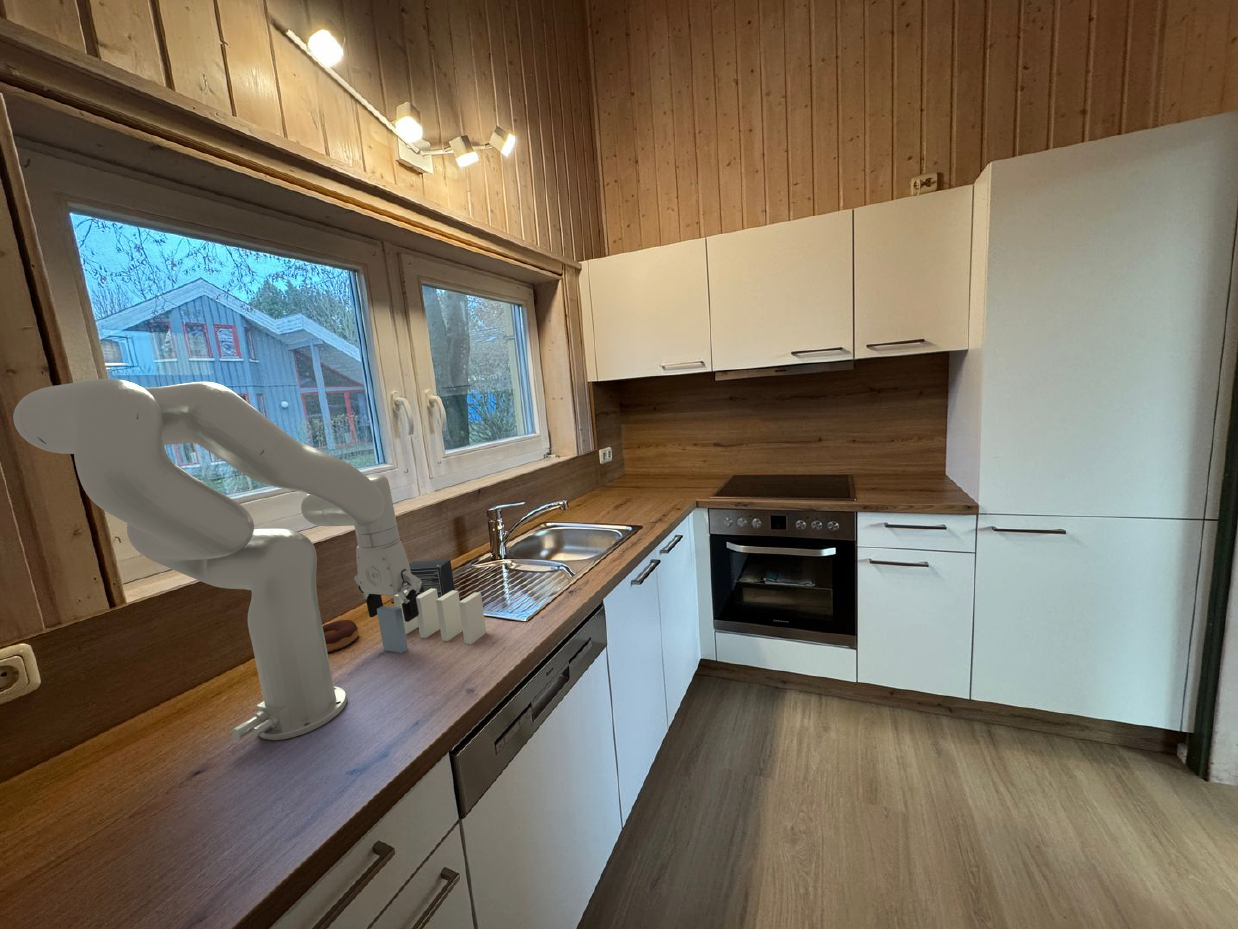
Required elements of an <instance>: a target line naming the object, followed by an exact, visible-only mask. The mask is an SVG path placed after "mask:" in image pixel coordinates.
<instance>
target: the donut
mask: <svg viewBox="0 0 1238 929" xmlns="http://www.w3.org/2000/svg"><path fill="white" fill-rule="evenodd" d="M322 626H323V632H324V637H325V642H326V648H327V653H331V652H334V650H335V651H337V650H340V649H343V648H345V647H347V646H348V645H351V643H353V642H354V641H355V640H356V639H357V637H358V636H359V628H358V626H357V624H356V623H355V622H354V621H353V620H351V619H343V620H342V619H339V620H337V621H336V620H335V621H333V622H330V623H325V624H324V625H322Z"/></svg>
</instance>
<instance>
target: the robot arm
mask: <svg viewBox="0 0 1238 929" xmlns="http://www.w3.org/2000/svg"><path fill="white" fill-rule="evenodd" d="M12 416H13V424H14V427H15V429H16V430H17V431H16V432H18V434H19V435H20V437H21V438H23V439H24V440H25V441H26V442H27V443H29V444H31V445H32V446H34V447H36V448H38V449H41V450H43V451H46V452H49V453H54V454H62V455H73V457H74V463H75V467H76V472H77V476H78V479H79V481H80V484H81V486H82V488H83V491H85V494H86V496H88V498H89V499H90V500H91V502H93V503H94V504H95V505H96V506H98V507H99V508H100V509H102V510H103V511H105V512H106V513H108V514H110V515H111V516H113V517H115V518H116V519H118V520H121V521H122V522H125V523H126V533H127V538H128V540H129V542H130V545H132V546H133V548H134V549H135V550H136V551H137V552H138V554H141V555H142V556H143V557H145V558H147V559H149V560H151V561H152V562H155V563H157V564H159V565H161V566H163V567H166V568H169V569H171V570H173V571H175V572H178V573H181V574H182V575H185V576H188V577H189V578H191V579H194V580H197V581H199V582H201V583H205V584H207V585H210V586H212V587H216V588H220V589H230V590H232V589H233V590H247V591H251V600H250V602H249V607H248V611H247V627H248V632H249V638H250V641H251V645H252V650H253V655H254V659H255V660H254V661H255V665H256V669H257V674H258V675H257V676H258V679H259V684H260V689H261V693H262V697H263V698H262V699H263V701H262V702H260V703H258V704H257V705H256V707H257V712H255V713H254V714H253V716H252V717H251V718H250V719H247V720H246V721H244V722H242V723H241V724H239V725H237V726H235V727H234V728H232V729H231V735H232V738H233V739H234V740H235V741H238V742H239V741H240V740H242V739H243V738H245V737H247V736H248V735H250V734H251V733H252V735H253V736H254V737H260V738H262V739H265V740H269V741H280V740H287V739H292V738H296V737H299V736H301V735H305V734H307V733H311V732H312V731H314V730H316V729H318V728H320V727H322V726H324V725H326V724H327V723H329V722H330V721H331V720H332V719H334V718H336V717H337V716H338V715H339V714H340V713H341V712H342V711H343V710H344V708H345V706H346V705H347V702H348V697H347V693H346V690H345V689H343V688H341V687H338V686H334V685H335V684H334V681H333V674H332V669H331V665H330V659H329V654H328V653H329V652H327V648H326V642H325V637H324V632H323V626H324V625H323V623H322V617H321V611H320V606H319V599H318V592H317V568H318V566H317V564H318V563H317V562H318V558H317V551H316V548H315V545H314V543H313V541H311V539H309V537H308V536H307V535H305V534H303V533H301V532H299V531H296V530H292V529H288V528H255V523H254V519H253V517H252V515H251V514H250V512H249V511H248V510H247V509H246V508H245V507H244V506H243V505H241V504H240V503H239V502H238V501H236V500H235V499H232V498H231V497H229V496H227V495H225V493H222V492H220V491H219V490H218V489H215V488H214V487H212V486H210V485H208V484H206V483H205V482H203V481H201V480H200V479H198V478H196V477H194V476H193V475H191V474H190V473H188V472H187V471H185V470H184V469H183V468H182V467H180V466H179V465H178V464H176V463H175V462H174V460H172V459H171V458H170V456H169V454H168V453H167V450H166V448H165V446H170V445H180V444H181V445H182V444H191V443H192V444H196V445H198V446H200V447H201V448H203V449H204V450H206V451H207V452H209V453H211V454H213V455H214V456H216V457H217V458H219V459H220V460H222V461H223V462H225V463H226V464H228V465H230V466H231V467H233V469H235V470H237V471H239V472H240V473H242V474H243V475H244V476H246V477H247V478H249V479H250V480H252V481H255V482H256V483H260V484H263V485H266V486H269V487H273V488H279V489H283V490H291V491H294V492H300V493H304V494H306V495H305V496H304V497H303V499H302V501H301V504H300V505H301V506H300V509H301V514H302V516H303V517H304V518H305V520H306V521H307V522H309V523H311V524H313V525H316V526H320V527H343V526H344V527H349V526H351V527H353V526H354V527H353V528H354V531H355V532H354V533H355V537H356V541H357V546H356V552H355V553H356V556H355V557H356V569H357V574H356V575H355V576H354V577H353V578H354V582H355V583H356V584H357V586H358V590H359V591H360V592H361V594H362V597H363V599H365V602H366V607H367V611H368V615H369V618H374V617H375V616H378V614H377V609H378V608H380V607H382V606H384V604H383V598H382V596H386V597H387V596H388V597H393V596H394V595H396V594H398V595H399V597H400V598H401V599H402V600H403V602H404V603H402V609H403V614H404V619H405V621H406V622H409V621H411V620H412V619H414V618H415V617H417V616H418V615H419V611H418V606H417V601H416V598H417V597H418V594H419V592H420V588H421V584H422V581H421V579H419V578H418V577H416V576H414V575H413V574H411V571H410V566H409V564H410V563H409V558H408V555H407V553H406V550H405V547H404V545H403V542H402V540H401V539H400V538H401V537H400V534H399V529H398V522H397V519H396V518H397V517H396V512H395V507H394V501H393V498H392V491H391V486H390V483H389V479H388V478H387V476H385V475H382V474H371V475H365V474H364V473H363V472H362V471H360V470H359V469H357V468H356V467H355V466H353V465H352V464H350V463H349V462H346V461H344V460H342V459H340V458H338V457H337V456H336V457H335V456H333V455H331V454H329V453H326V452H324V451H321V450H319V449H317V448H315V447H313V446H310V445H308V444H305V443H303V442H301V441H298V440H297V439H295V438H293V437H292V436H291V435H289V433H287V432H286V431H285V430H283V429H281V428H280V427H279V426H278V425H277V424H275V422H273V421H272V420H270V419H269V418H267V417H266V416H265V415H264V414H262V413H261V412H260V411H259V410H258V409H256V408H255V407H253V405H251V404H250V403H248V402H247V401H246V400H245V399H244V398H242V397H241V396H239V395H238V394H237V393H236V392H234V391H233V390H231V389H230V388H228V387H227V386H226V385H225V386H224V385H222V384H219V383H216V382H212V381H194V382H187V383H186V382H185V383H179V384H172V385H165V386H156V387H152V386H151V387H143V386H140V385H138V384H136V383H134V382H130V381H127V380H123V379H118V378H97V379H88V380H83V381H81V380H80V381H77V382H72V383H64V384H59V385H50V386H47V387H46V386H45V387H42V388H39V389H36V390H34V391H32V392H30V393H28V394H27V395H25V396H24V397H23V398H22V399H20V400H19V402H18V403H17V405H16V406H15V408H14V411H13V415H12ZM405 590H407V591H408V595H406V594H405V593H404V591H405Z"/></svg>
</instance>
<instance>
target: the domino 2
mask: <svg viewBox="0 0 1238 929" xmlns="http://www.w3.org/2000/svg"><path fill="white" fill-rule="evenodd" d="M404 593H405V594H406V595H408V591H407V590H405V591H404ZM392 597H393V603H394V604H393V605H394V607H399V608H401V610H402V616H403V622H404V628H405V634H406V635H408V634H409V633H411V632H413V631H414V630H416V629H417V628H419V626H418V620H417V617H415V618H414V619H412V620H411V621H409V622H406V621H405V619H404V614H403V609H402V603H404V602H403V600H402V599H401V598H400V597H399V595H398V594H396V595H394V596H392Z"/></svg>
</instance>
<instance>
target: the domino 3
mask: <svg viewBox="0 0 1238 929" xmlns="http://www.w3.org/2000/svg"><path fill="white" fill-rule="evenodd" d="M437 599H438V594H437V589H432V588H431V589H429V590H427V591H425V592H424V593H422V594H420V595H418V597H417V598H416V601H417V606H418V611H419V615H418V616H417V620H418V626H419V627H418V632H419V637H420V638H421V639H428V637H430V636H431V635H433V634H434V633H436V632H437V631H439V630H440V624H439V617H438V611H437V604H436V600H437Z"/></svg>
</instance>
